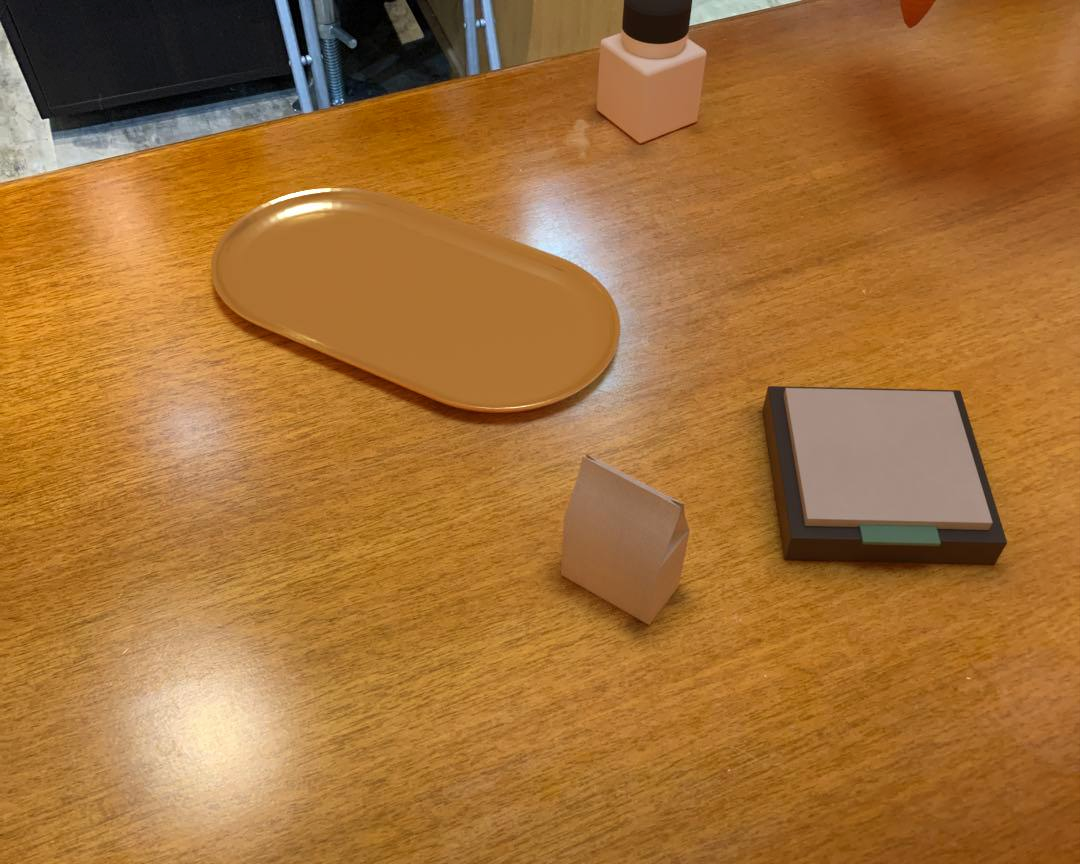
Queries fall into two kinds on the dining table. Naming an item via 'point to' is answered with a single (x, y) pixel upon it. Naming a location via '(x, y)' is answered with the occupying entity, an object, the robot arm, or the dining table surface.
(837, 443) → the kitchen scale
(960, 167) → the dining table surface
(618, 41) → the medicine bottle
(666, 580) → the brown paper bag
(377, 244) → the serving platter
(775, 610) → the dining table surface
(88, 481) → the dining table surface
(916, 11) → the carrot
